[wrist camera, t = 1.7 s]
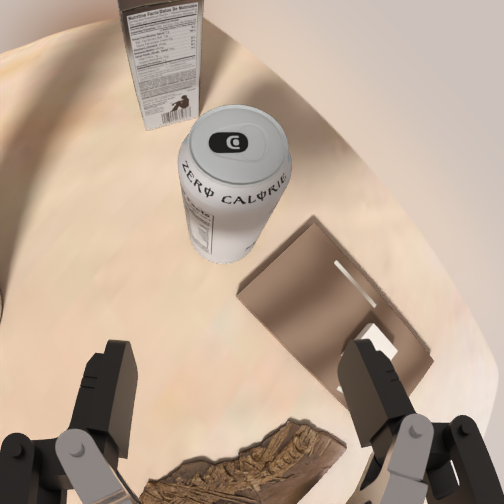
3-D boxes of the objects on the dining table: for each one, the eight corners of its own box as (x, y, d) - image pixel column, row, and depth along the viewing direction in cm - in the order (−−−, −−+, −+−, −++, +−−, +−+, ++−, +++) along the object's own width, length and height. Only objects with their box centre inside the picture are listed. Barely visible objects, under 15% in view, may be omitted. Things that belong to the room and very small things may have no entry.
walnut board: (235, 296, 27) (236, 295, 26) (310, 225, 30) (314, 222, 29) (372, 432, 25) (376, 435, 24) (428, 360, 28) (434, 361, 27)
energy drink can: (257, 264, 28) (309, 197, 14) (191, 268, 27) (173, 201, 13) (252, 202, 29) (290, 98, 15) (189, 205, 29) (177, 97, 14)
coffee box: (133, 80, 31) (113, -27, 16) (183, 68, 33) (182, -41, 17) (144, 133, 30) (117, 10, 14) (201, 118, 31) (206, -8, 16)
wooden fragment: (324, 400, 26) (328, 403, 25) (358, 477, 24) (363, 481, 23) (89, 485, 20) (86, 489, 19) (144, 553, 19) (143, 558, 18)
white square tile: (340, 355, 26) (346, 355, 25) (367, 323, 27) (373, 323, 26) (366, 381, 26) (372, 383, 25) (391, 350, 27) (397, 351, 26)
